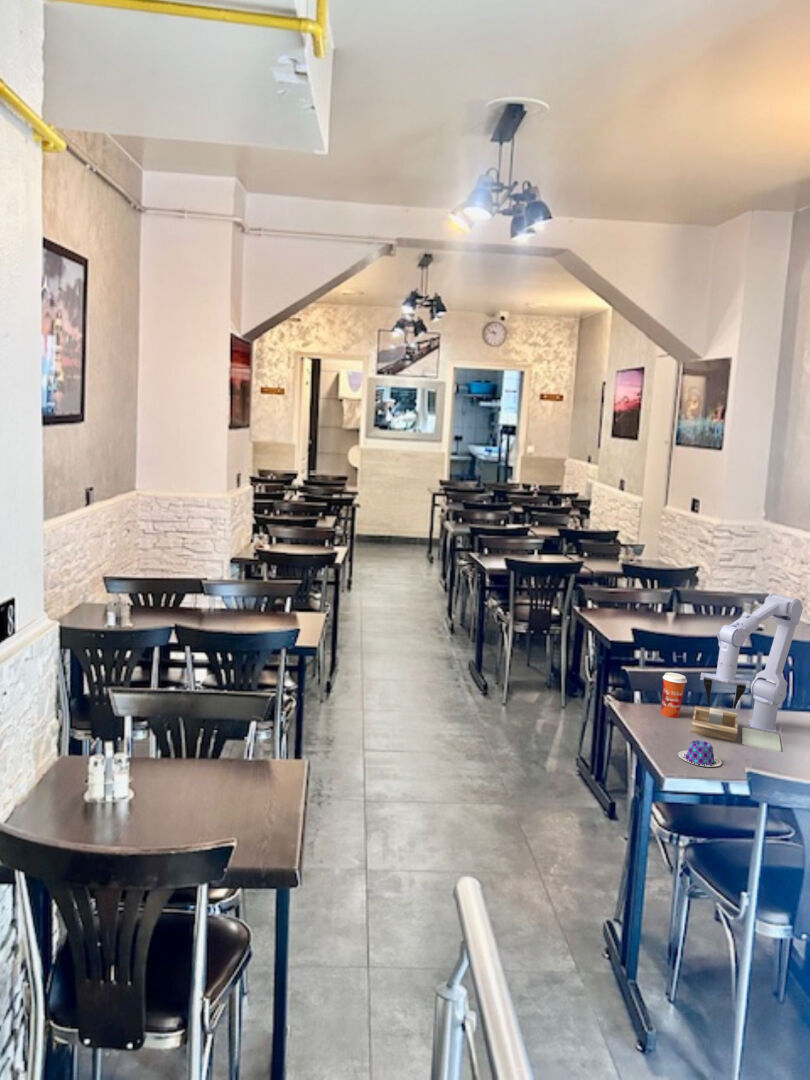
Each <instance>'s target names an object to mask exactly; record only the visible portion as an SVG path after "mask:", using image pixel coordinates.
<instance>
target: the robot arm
mask: <svg viewBox="0 0 810 1080" xmlns="http://www.w3.org/2000/svg"><path fill="white" fill-rule="evenodd" d="M803 610H804V607H803V604H802V602H801V600H800V599H799V598H793V597H790V596H785V595H780V594H778V593H774V592H772V593H770V594H769V595H768V596H766V597H765V599H764V603H763V604H762V605H760V606H759V607H758V608H757V609H756V610H755V611H753V612H752V613H744V614H743V615H742V616H741V617H739V618H738V619H736V620H735V621H733V622H732V623H731V624H724V625H722V626H721V627H720V628H719V630H718V632H717V633H716V634H717V636H716V637H717V640H718V647H719V651H718V658H717V667H716V672H715V673H708V672H701V673H700V681H703V686H704V689H705V692H706V699H707V700H706V701H707V705H710V703H711V693H712V686H713V682H715V683H718V684H719V683H721V684H727V685H731V686H736V691H735V696H734V699H733V705H732V706H733V707H732V708H733V709H734V710H736V708H737V705H738V703H739V701H740V700H741V697H742V696H743V695H744V694H745V692H746V689H750V692H751V693H750V694H752V696H753V697H752V698H753V699H754V705H753V710H752V717H751V718H749V726H750V727H751V728H753V729H757V730H764V731H767V732H772V733H777V724H776V722H777V716H778V710H779V705H781V704H782V703H783V702H785V699H786V697H787V686H788V684H789V683H788V682H787V680H786V679H785V678H784V675H782V674H783V671H784V669H785V664H786V661H787V657H788V654H789V651H790V648H791V645H792V642H793V638H794V635H795V630H796V628H797V625H799V623H800V620H801V616H802V614H803ZM771 617H772V618H773V619H775V620H776V621H775V622H776V623H777V627H776V631H775V634H774V637H773V640H772V641H773V642H772V644H771V647H770V649H769V650H770V651H769V653H768V658H767V660H766V665H765V668H764V670H761V671H759V672H757V673H756V674H755V677H754V679H753V681H752V682H751V680H747V679H743V678H738V677H736V676H737V669H738V663H739V656H740V655H739V654H740V649H741V646H743V645H744V644H745V642H746V639H748V636H750V635H751V634H752V633H754V632H755V631H757V630H758V628H759V626H760V625H759V624H760V623H762V622H764V621H765V620H767V619H769V618H771Z"/></svg>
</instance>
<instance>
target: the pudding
mask: <svg viewBox="0 0 810 1080" xmlns="http://www.w3.org/2000/svg"><path fill="white" fill-rule="evenodd" d="M689 744H690V745H689V747H688V749H687V750H681V751H679V752H678V753H677V755H678V757H679V758H680V759H681V760H683V761H685V762H687V763H689V764H692V765H695V766H696V765H697V766H701V767H705V766H706V767H708V768H709V767H720V766H721V765H722V763H723V762H722V760H721V759H720V758H719V757H717V756H715V754H714V748H713V745H712V744H711V743H710V742H707V741H705V740H699V739H697V740H692V741H691V742H690V743H689ZM684 754H686V755H685V756H684ZM683 757H685V758H683ZM714 758H715V760H716V761H718V764H717V765H715V766H710V765H711V764H712V763H714V764H715V762H714ZM687 759H688V761H687ZM689 761H691V762H694V763H695V764H694V763H691V762H689ZM698 764H700V765H698ZM705 764H706V765H705ZM704 765H705V766H704ZM712 765H713V764H712Z"/></svg>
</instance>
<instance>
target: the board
mask: <svg viewBox="0 0 810 1080" xmlns="http://www.w3.org/2000/svg"><path fill="white" fill-rule="evenodd" d="M741 744H742V745H745V746H749V747H754V748H760V749H764V750H770V751H774V752H779V753H781V752H782V747H781V740H780V734H778V733H775V732H770V731H765V730H764V731H762V730H759V729H754V728H753V729H752V728H748V727H742V728H741Z"/></svg>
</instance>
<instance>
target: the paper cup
mask: <svg viewBox="0 0 810 1080" xmlns="http://www.w3.org/2000/svg"><path fill="white" fill-rule="evenodd" d="M662 680H663V682H662V693H661V694H662V695H661V707H660V709H661V710H660V714H661V715H662V716H664V717H667V718H672V719H674V718H675V719H677V718H679V716H680V712H681V707H682V706H681V705H682V701H683V697H684V693H685V692H684V691H685V686H686V683H688V680H687V678H686V676H685V675H683V674H682V673H681V674H680V673H677V672H676V673H675V672H665V673H664V675H663V676H662Z"/></svg>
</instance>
